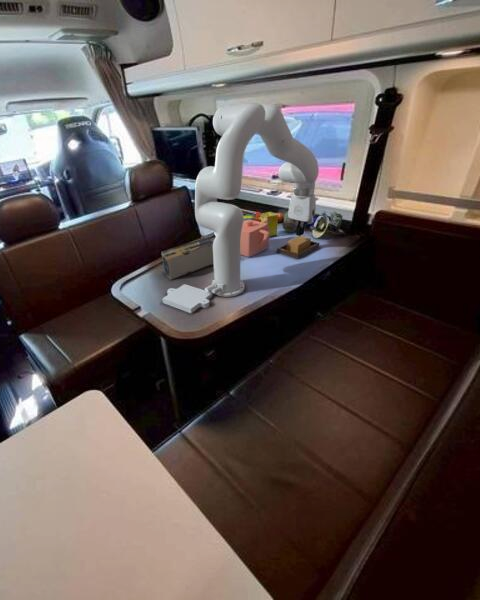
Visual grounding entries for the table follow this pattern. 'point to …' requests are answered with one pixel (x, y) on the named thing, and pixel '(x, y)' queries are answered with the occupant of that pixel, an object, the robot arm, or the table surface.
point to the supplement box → (271, 222)
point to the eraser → (283, 211)
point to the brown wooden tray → (312, 247)
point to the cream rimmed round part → (325, 226)
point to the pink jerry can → (254, 237)
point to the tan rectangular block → (298, 244)
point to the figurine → (312, 224)
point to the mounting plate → (187, 298)
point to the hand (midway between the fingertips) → (299, 234)
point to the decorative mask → (258, 217)
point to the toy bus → (187, 258)
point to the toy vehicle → (336, 219)
